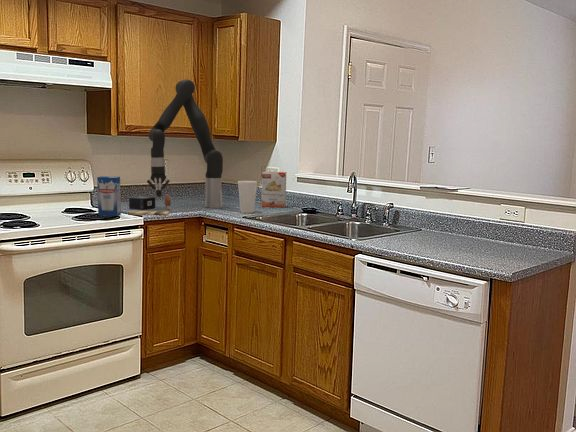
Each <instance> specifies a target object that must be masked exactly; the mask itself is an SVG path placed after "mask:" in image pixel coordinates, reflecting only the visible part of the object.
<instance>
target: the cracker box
mask: <svg viewBox="0 0 576 432" xmlns="http://www.w3.org/2000/svg"><path fill="white" fill-rule="evenodd" d="M286 202H287V172H286V171H269V170H268V171H266V170H265V171H262V172H261V207H262V208H263V207H264V208H285V207H286V206H287V205H286Z"/></svg>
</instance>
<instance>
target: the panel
mask: <svg viewBox="0 0 576 432" xmlns="http://www.w3.org/2000/svg"><path fill="white" fill-rule="evenodd" d="M145 214H151V215H150V216H168V215H170V214H171V210H170V211H165V210H131V211H130V212H128V216H146V215H145Z"/></svg>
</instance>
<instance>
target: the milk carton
mask: <svg viewBox="0 0 576 432" xmlns="http://www.w3.org/2000/svg"><path fill="white" fill-rule="evenodd" d="M96 179H97V211H98V213H97V214H98V215H100V216H99V217H104V216H103V215H107V216H106V217H112V216H118V217H119V216H122V212H121V211H122V209H121V207H122V205H121V176H103V175H102V176H97V177H96ZM98 215H97V216H98ZM101 215H102V216H101Z"/></svg>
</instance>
